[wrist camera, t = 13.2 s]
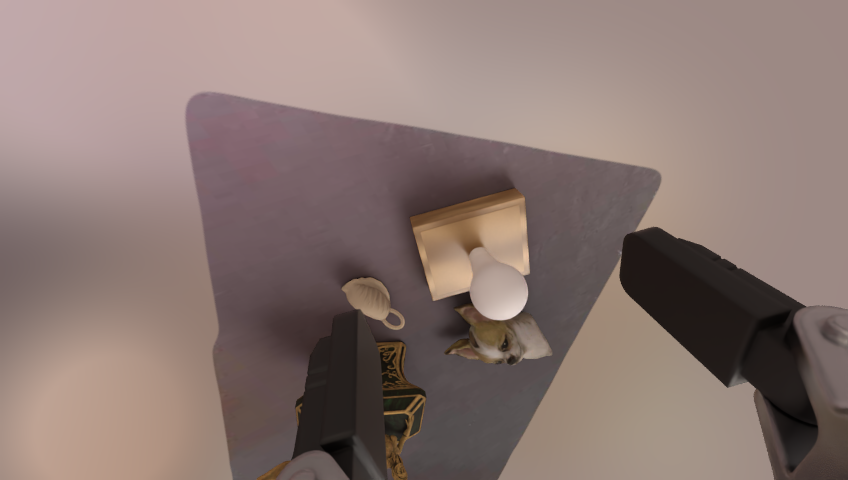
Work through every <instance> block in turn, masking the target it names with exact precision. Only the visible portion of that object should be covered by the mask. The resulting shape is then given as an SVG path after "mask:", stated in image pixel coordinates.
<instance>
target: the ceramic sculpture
mask: <svg viewBox="0 0 848 480" xmlns="http://www.w3.org/2000/svg"><path fill="white" fill-rule="evenodd" d="M454 310H456V311H457V312H459V314H460V315H461V316H462V317H463V319H464V320H465V321H466V322H467V323H469V324H470V325H471V327H470V330H469V339H468V338H467V339H460V340H458V341H457V342H456V343H454V344H453V345H452V346H451V347H449V348H448V349H447V350H446V351H445V352H444V354H445V355H450V354H456V355H459V356H464V357H465V358H468V359H476V360H479V359H480V360H482V361H484V362H485V363H494V364H501V363H507V364H509V365H515V364H517V363H518V362H520V361H521V360H522V358H527V359H537V358H540V357H544V356H551V355H552V350H551V348H550V346H549V344H548V341H547V340H546V338H545V337H544V335H543V334H542V332H541V331H540V329H539V327H538V326H537V324H536V322H535V320H534V319H533V317H532V316H531V315H530V314H529V313H526V312H521V313H519V314H518V315H517V316H514V317H512V318H510V319H507V320H493V319H490V318H487V317H485V316H483V315H482V314H481V313H480V312H479V311H478V310H477V309H476V308H475V306H474V305H473V304H464V305H461V306H457V307H454Z"/></svg>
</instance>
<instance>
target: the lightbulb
mask: <svg viewBox="0 0 848 480" xmlns="http://www.w3.org/2000/svg"><path fill="white" fill-rule="evenodd" d="M469 259H470V262H471V269H472V272H473V278H472V281H471V285H470V297H471V301H472V303H473V305H474V306H475V308H476V309H477V310H478V311H479V312H480V313H481V314H482V315H483V316H485V317H487V318H490V319H493V320H507V319H510V318H512V317H514V316H516V315H517V314H519V313H520V312H521V310H522V309H523V308H524V306H525V304H526V301H527V298H528V288H527V284H526V281H525V279H524V277H523V276H522V274H521V273H520V272H519V271H518V270H516V269H515V268H514V267H512V266H510V265H507V264H504V263H500V262H498V261H497V260H496V259H495V258H494V257H493V256H492V255H490V253H489V252H488V251H487V250H486V249H485V248H483V247H478V248H475V249H473V250H472V251H471V253H470V255H469Z"/></svg>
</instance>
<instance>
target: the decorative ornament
mask: <svg viewBox="0 0 848 480" xmlns="http://www.w3.org/2000/svg"><path fill="white" fill-rule="evenodd" d="M342 290H343V291H344V292H345V293H346V295H347V299H348V301H349V302H350V304H351V305H352V306H353V307H354V308H355V309H361V311H362V312H363V314H365V315H367V316H369V317H371V318H373V319H377V320H382V322H383V323H384V324H385V325H386V326H387V327H389V328H391V329H394V330H399V329H401V328H402V327H403V326H404V324H405V320H404V318H403V316H402V315H401V314H400V313H399V312H398V311H397V310H395V309H391V306H390V301H389V300H390V298H389V293H388V292H387V288H386V287H384V285H383V284H382V283H381V282H380V281H378V280H376V279H374V278H370V277H369V278H362V277H361V278H359V279H353V280H351V281H349V282H348V283H346V284H345V285H344V286H343V287H342ZM389 312H391V313H394V314H396V315H397V316H398V317H399V318H400V320H401V324H400V325H399V326H394V325H391V324H390V323H388V322H387V320H386V319H385V318H386V317H387V315H388V313H389Z"/></svg>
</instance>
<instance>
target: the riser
mask: <svg viewBox="0 0 848 480" xmlns="http://www.w3.org/2000/svg"><path fill="white" fill-rule="evenodd" d="M410 221H411V225H412V229H413V232H414V236H415V239H416V243H417V246H418V250H419V253H420V257H421V261H422V264H423V268H424V271H425V275H426V278H427V282H428V285H429V289H430V293H431V296H432V300H433V301H435V300H439V299H442V298H446V297H449V296H453V295H456V294H460V293H464V292H467V291H470V285H471V281H472V278H473V272H472V269H471V262H470V259H469V255H470V253H471V251H472V250H473V249H475V248H478V247H483V248H485V249H486V250H487V251H488V252H489V253H490V255H492V256H493V257H494V258H495V259H496V260H497V261H498V262H500V263H504V264H507V265H510V266H512V267H514V268H515V269H516V270H518V271H519V272H520V273H521V274H522V276H524V275H527V274H530V268H529V253H528V238H527V223H526V208H525V197H524V196H523V195H522V194H521V193H520V192H519V191H518V190H517V189H516V188H513V189H510V190H506V191H502V192H499V193H495V194H492V195H488V196H484V197H481V198H477V199H474V200H470V201H466V202H463V203H459V204H455V205H452V206H448V207H445V208H441V209H437V210H434V211H430V212H427V213H423V214H419V215H416V216H412V217H410Z"/></svg>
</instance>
